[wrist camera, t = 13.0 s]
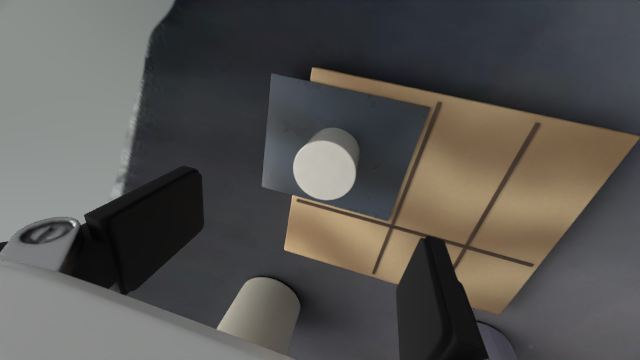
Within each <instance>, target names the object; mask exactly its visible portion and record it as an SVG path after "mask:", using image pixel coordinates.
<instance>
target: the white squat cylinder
mask: <svg viewBox="0 0 640 360" xmlns="http://www.w3.org/2000/svg"><path fill="white" fill-rule="evenodd" d="M359 159H360V149H359V146H358V143H357V141H356V140H355V138H354V137H353V136H352V135H351V134H349V133H348V132H347V131H345V130H342V129H339V128H326V129H323V130H321V131H319V132H317V133H316V134H315V135H314V136H313V137H312V138H311V139H310V140H309V141H308V142H307V143H306V144H305V145H304V146H303V147H302V148H301V149H300V150H299V152H298V153H297V155H296V157H295V159H294V164H293V172H294V176H295V179H296V181H297V183H298V185H299V186H300V188H301V189H302V190H303V191H304V192H306V193H307V194H308V195H310V196H312V197H314V198H317V199H321V200H333V199H337V198H340V197H342V196H343V195H345V194H346V193H347V192H348V191H349V190H350V189H351V188H352V186H353V184H354V182H355V179H356V174H357V169H358V164H359Z"/></svg>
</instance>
